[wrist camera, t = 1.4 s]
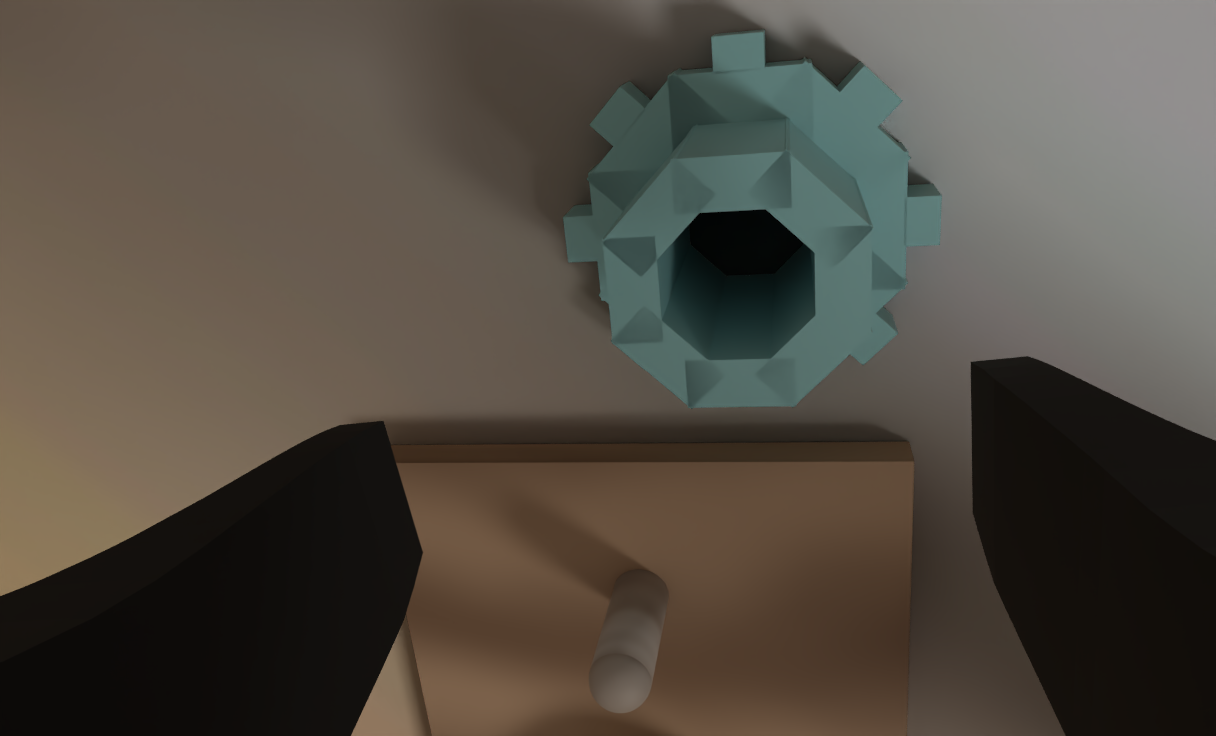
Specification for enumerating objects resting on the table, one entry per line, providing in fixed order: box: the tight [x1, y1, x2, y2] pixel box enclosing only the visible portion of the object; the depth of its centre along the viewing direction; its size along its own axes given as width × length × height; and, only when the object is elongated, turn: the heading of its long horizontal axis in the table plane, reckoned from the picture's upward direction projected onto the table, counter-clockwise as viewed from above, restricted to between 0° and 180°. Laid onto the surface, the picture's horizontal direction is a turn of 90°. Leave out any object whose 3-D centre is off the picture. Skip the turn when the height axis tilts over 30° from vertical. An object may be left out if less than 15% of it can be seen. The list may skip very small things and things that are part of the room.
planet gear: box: [563, 29, 942, 409], centre depth 18 cm, size 8×8×5 cm
